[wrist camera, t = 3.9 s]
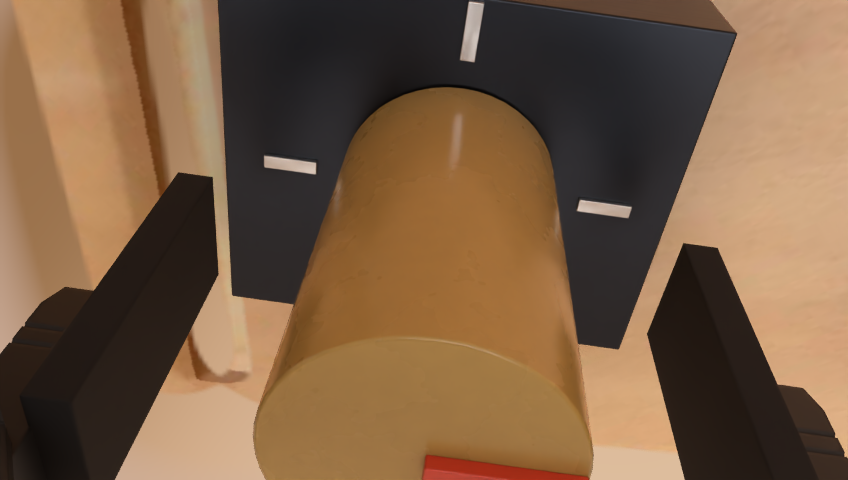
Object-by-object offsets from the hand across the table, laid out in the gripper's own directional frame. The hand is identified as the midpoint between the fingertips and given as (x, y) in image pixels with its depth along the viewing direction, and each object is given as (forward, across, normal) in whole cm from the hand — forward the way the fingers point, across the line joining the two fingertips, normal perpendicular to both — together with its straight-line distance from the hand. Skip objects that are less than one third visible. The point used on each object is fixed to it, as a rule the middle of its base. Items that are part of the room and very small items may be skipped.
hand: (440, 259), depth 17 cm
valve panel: (+6, 0, 0) cm, 6 cm away
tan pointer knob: (+3, 0, 0) cm, 3 cm away
